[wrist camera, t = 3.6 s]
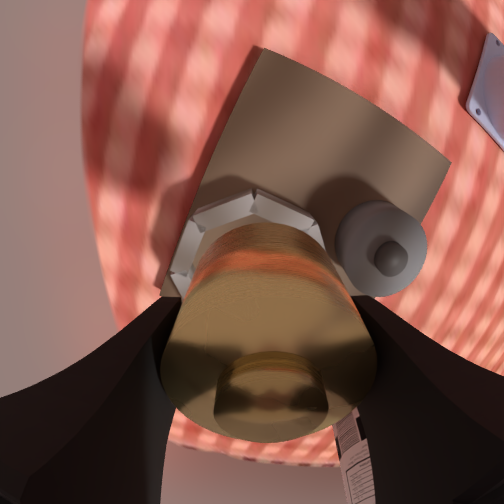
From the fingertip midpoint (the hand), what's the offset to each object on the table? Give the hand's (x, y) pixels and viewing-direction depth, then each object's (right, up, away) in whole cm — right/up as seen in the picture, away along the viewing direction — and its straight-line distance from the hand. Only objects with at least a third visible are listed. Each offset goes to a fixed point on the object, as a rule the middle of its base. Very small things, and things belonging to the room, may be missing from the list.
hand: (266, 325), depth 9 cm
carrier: (+3, +4, +8) cm, 9 cm away
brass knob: (0, +1, +1) cm, 2 cm away
